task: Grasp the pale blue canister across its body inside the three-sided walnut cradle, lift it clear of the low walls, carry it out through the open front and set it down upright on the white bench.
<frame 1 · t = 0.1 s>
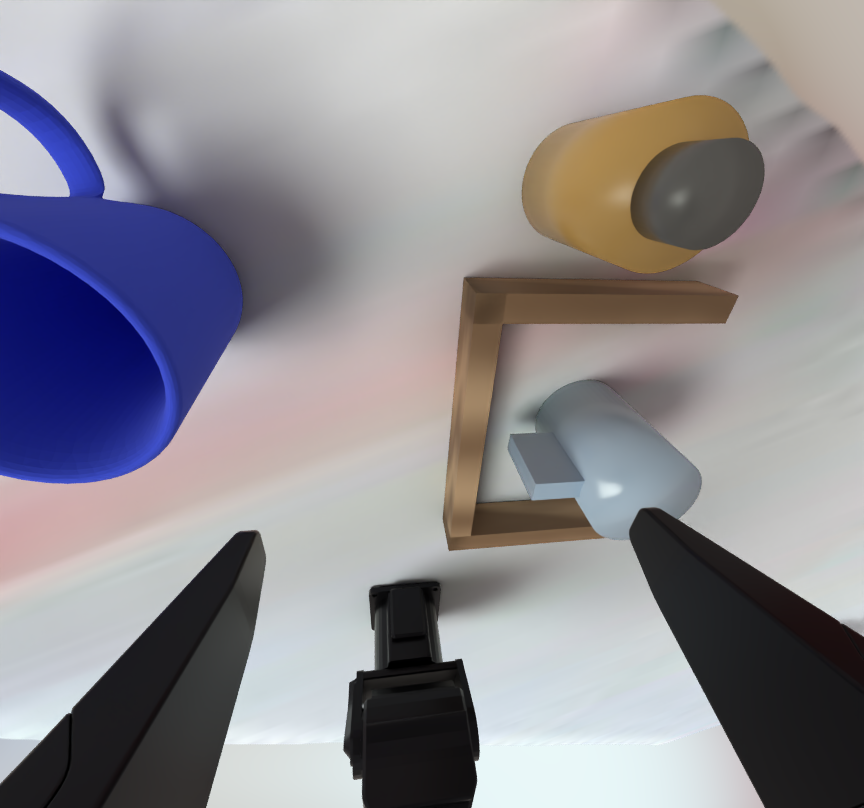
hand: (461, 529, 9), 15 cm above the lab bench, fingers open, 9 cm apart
cradle: (563, 418, 26), on the lab bench
reagent bottle: (571, 185, 18), on the lab bench
pale blue canister: (576, 417, 26), on the lab bench
mug: (153, 238, 18), on the lab bench
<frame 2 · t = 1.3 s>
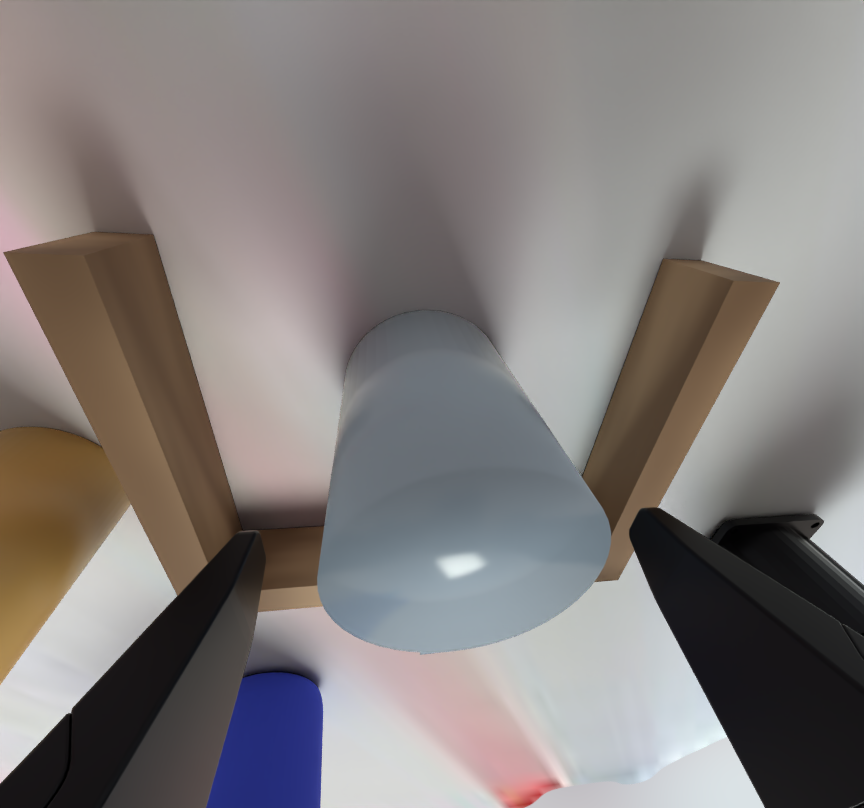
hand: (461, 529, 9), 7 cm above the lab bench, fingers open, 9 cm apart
cradle: (423, 408, 15), on the lab bench
reagent bottle: (59, 479, 14), on the lab bench
pale blue canister: (424, 386, 14), on the lab bench
mug: (245, 692, 26), on the lab bench
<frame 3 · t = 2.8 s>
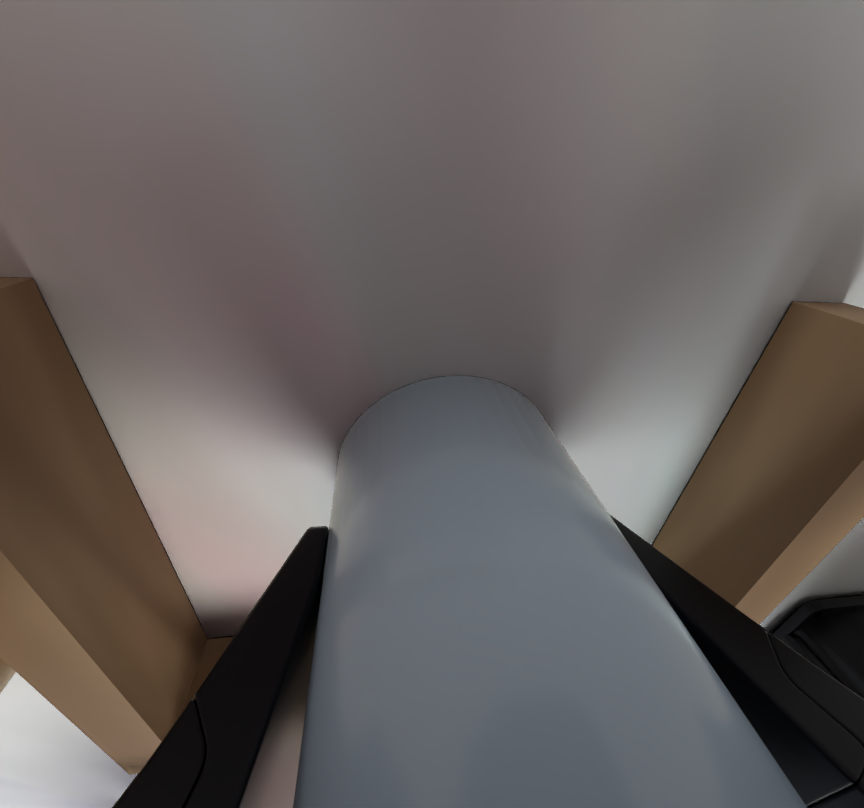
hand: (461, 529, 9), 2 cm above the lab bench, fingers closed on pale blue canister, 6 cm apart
cradle: (444, 496, 11), on the lab bench
pale blue canister: (447, 470, 10), on the lab bench, touching gripper
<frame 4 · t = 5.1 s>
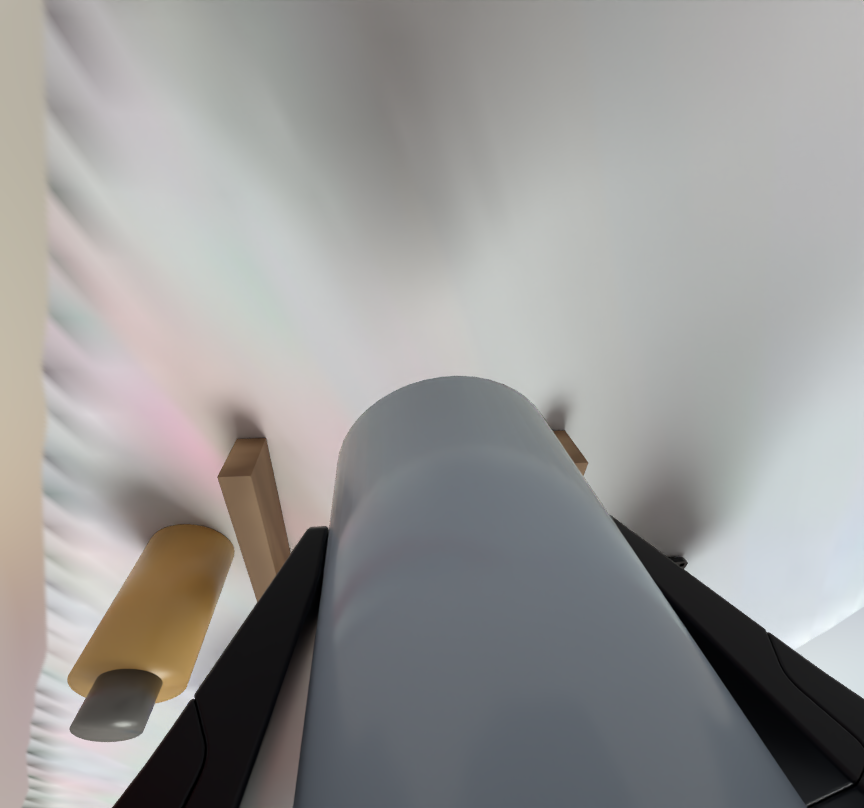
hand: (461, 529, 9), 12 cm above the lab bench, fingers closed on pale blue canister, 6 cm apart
cradle: (408, 507, 25), on the lab bench
reagent bottle: (192, 550, 24), on the lab bench
pale blue canister: (447, 471, 10), point 10 cm above the lab bench, touching gripper
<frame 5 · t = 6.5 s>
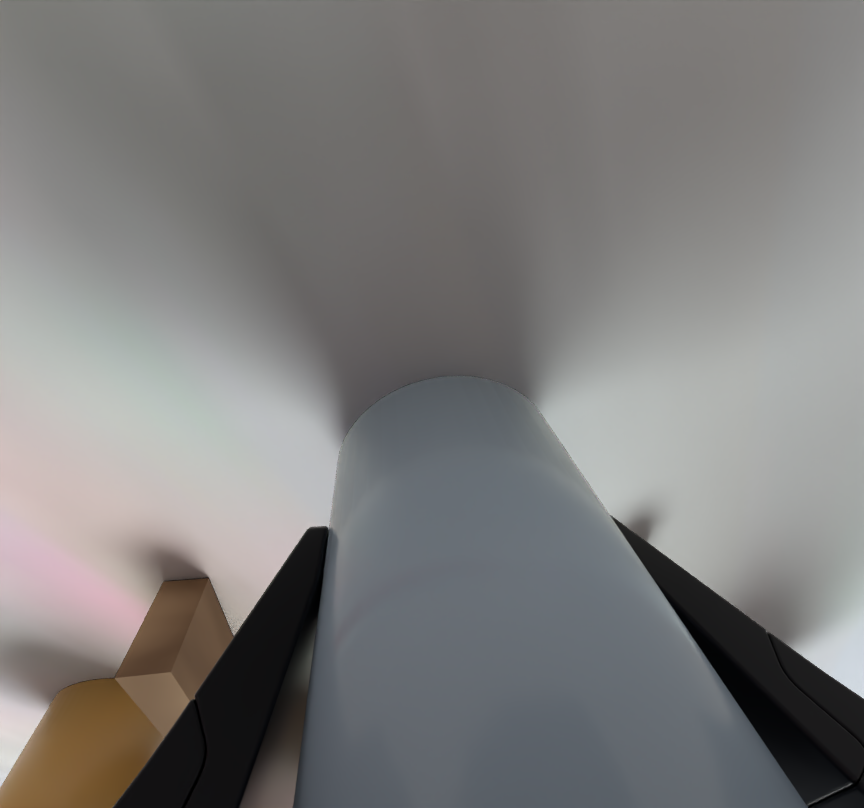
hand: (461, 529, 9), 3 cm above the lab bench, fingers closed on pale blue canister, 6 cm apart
cradle: (420, 640, 18), on the lab bench
reagent bottle: (119, 703, 17), on the lab bench
pale blue canister: (447, 470, 10), point 1 cm above the lab bench, touching gripper
when the fingers open (3 cm above the lab bench, at t = 7.5 s): pale blue canister stays where it is, on the lab bench.
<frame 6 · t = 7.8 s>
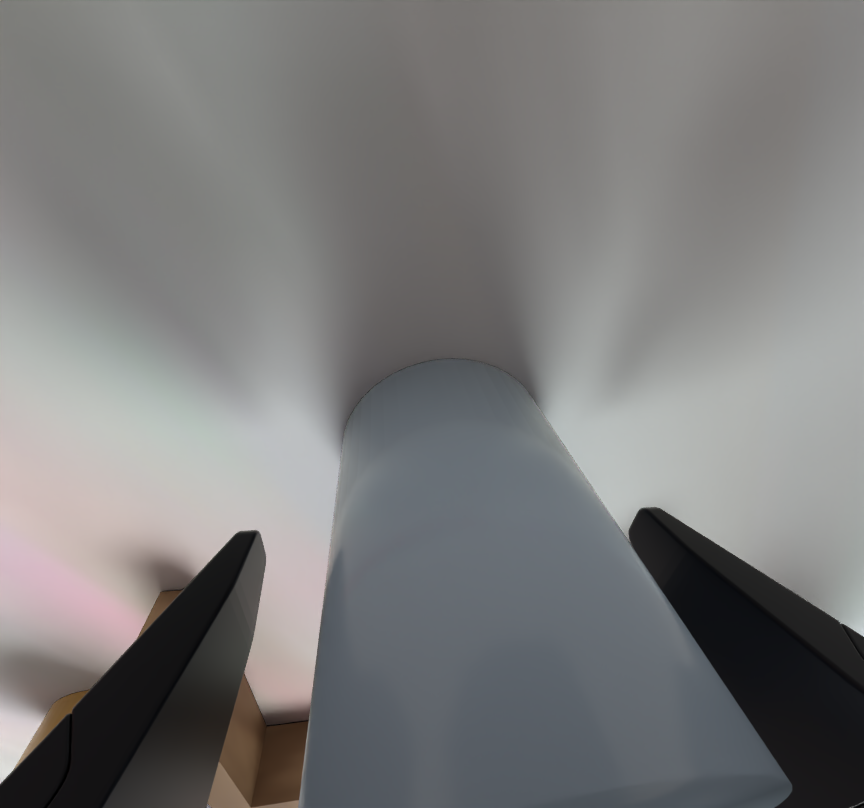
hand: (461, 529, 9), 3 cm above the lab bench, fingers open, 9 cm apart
cradle: (422, 649, 18), on the lab bench
reagent bottle: (116, 713, 17), on the lab bench
pale blue canister: (444, 448, 11), on the lab bench
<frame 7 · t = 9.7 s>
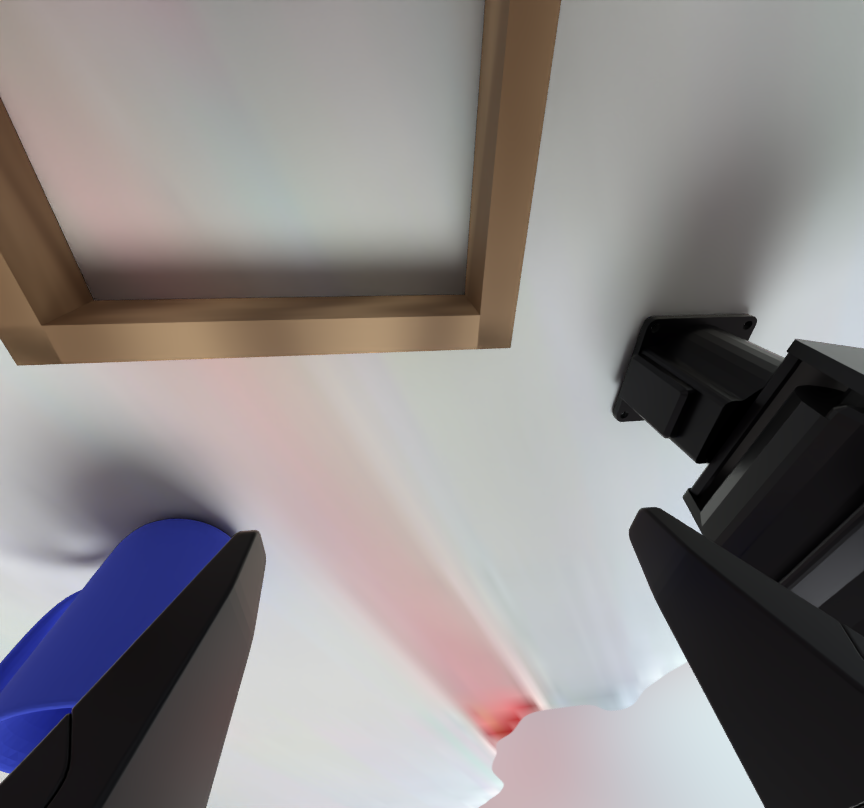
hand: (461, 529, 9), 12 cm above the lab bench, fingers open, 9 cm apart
cradle: (258, 115, 13), on the lab bench
mug: (160, 551, 24), on the lab bench
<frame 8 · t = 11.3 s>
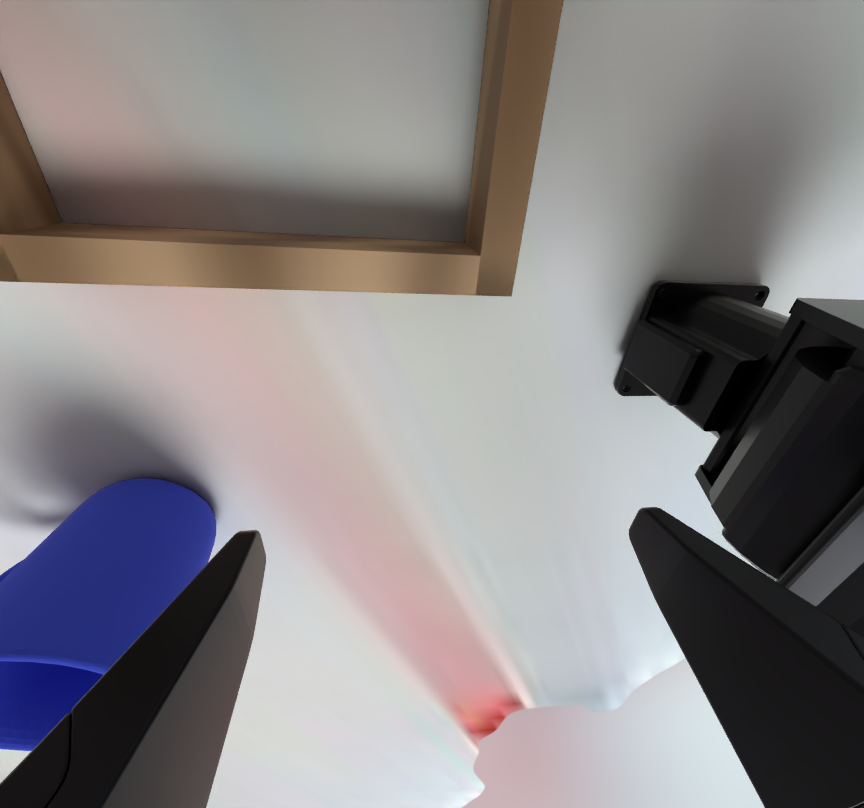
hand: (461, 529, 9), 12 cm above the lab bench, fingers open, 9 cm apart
cradle: (247, 17, 12), on the lab bench
mug: (132, 515, 23), on the lab bench
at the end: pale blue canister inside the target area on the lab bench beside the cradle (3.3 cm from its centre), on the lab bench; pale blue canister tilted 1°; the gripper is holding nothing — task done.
